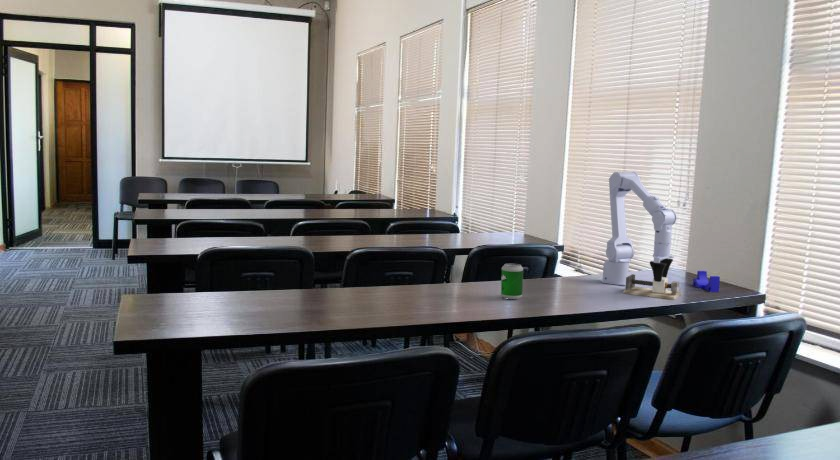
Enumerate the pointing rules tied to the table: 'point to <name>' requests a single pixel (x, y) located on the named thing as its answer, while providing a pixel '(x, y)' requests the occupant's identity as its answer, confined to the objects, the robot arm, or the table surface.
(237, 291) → the table surface
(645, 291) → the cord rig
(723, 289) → the table surface
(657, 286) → the cord end block
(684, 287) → the table surface
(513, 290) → the soda can
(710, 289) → the blue stepped block
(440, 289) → the table surface
